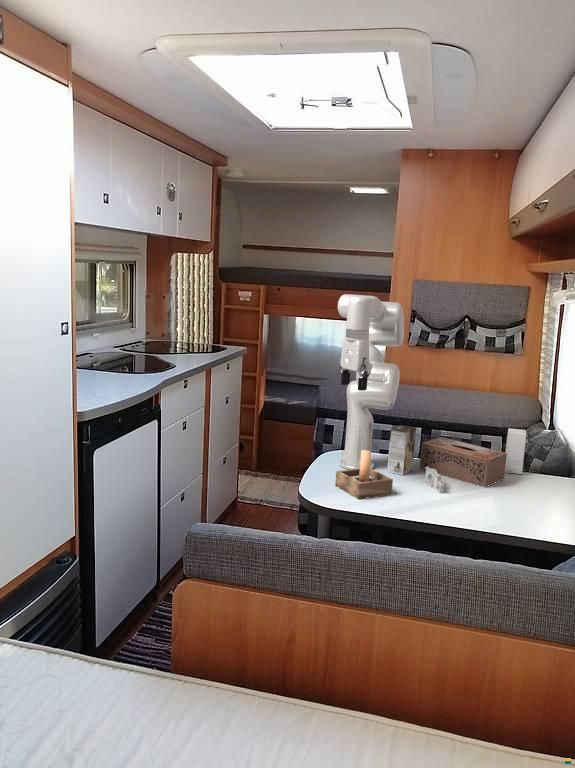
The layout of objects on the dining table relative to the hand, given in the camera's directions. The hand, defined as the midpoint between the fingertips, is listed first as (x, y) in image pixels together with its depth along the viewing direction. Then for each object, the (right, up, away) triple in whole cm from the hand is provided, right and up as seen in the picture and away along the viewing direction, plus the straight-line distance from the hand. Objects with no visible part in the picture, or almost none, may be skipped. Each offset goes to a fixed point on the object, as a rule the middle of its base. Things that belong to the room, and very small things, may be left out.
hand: (353, 387), depth 200 cm
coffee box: (+19, -30, +21) cm, 42 cm away
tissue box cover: (+41, -32, +22) cm, 57 cm away
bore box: (+3, -33, -1) cm, 33 cm away
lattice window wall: (+28, -34, +6) cm, 44 cm away
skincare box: (+63, -32, +29) cm, 76 cm away
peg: (+3, -32, -1) cm, 32 cm away
